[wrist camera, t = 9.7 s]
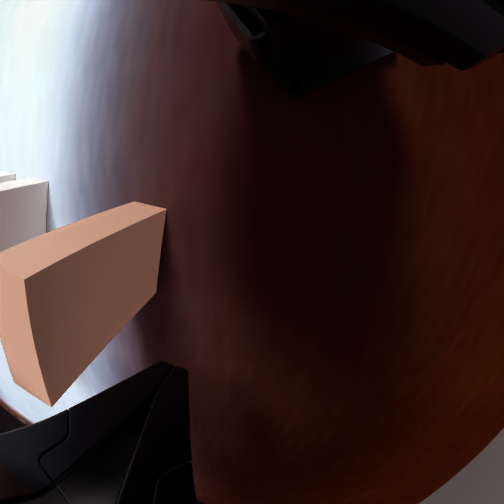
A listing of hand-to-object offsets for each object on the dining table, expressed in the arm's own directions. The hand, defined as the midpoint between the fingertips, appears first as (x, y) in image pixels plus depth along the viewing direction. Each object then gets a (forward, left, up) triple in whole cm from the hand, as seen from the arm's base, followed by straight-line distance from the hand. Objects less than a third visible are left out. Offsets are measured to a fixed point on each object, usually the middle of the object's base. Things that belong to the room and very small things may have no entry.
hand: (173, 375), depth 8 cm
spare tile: (+4, -3, -9) cm, 10 cm away
